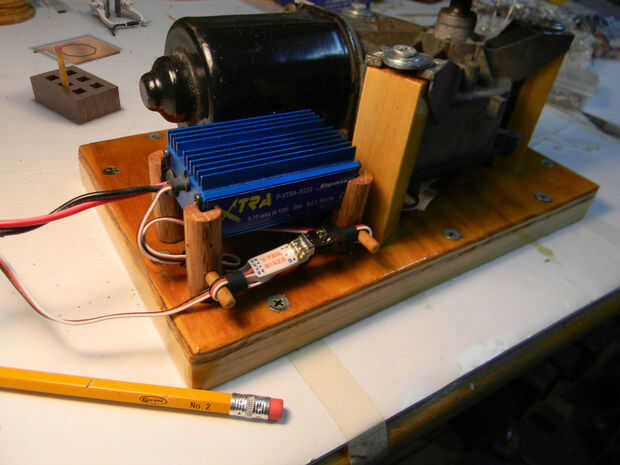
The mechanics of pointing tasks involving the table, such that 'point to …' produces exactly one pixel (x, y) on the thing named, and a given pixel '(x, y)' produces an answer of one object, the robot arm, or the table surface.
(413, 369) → the table surface
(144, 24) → the bike brake
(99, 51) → the pad
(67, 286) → the table surface
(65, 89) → the stand
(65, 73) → the pencil
